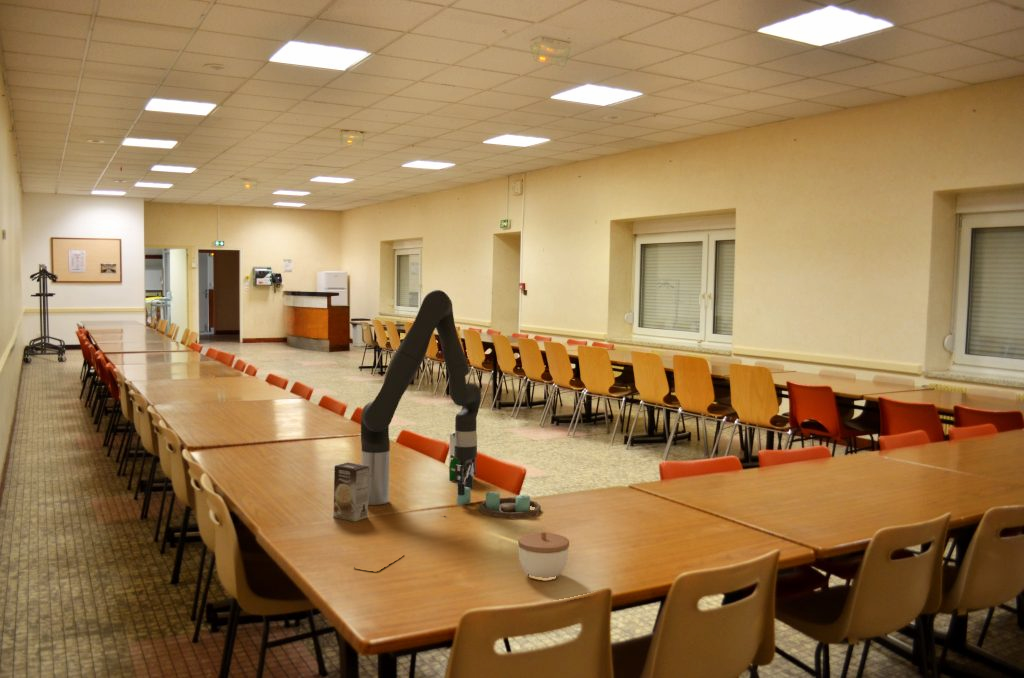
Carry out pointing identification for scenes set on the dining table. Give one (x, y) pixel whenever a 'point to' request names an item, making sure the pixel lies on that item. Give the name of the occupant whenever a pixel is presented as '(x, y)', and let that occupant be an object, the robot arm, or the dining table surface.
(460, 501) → the bead
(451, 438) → the milk carton
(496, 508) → the bead
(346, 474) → the coffee box
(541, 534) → the lidded bowl
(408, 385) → the robot arm
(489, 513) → the ring tray
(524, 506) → the bead
